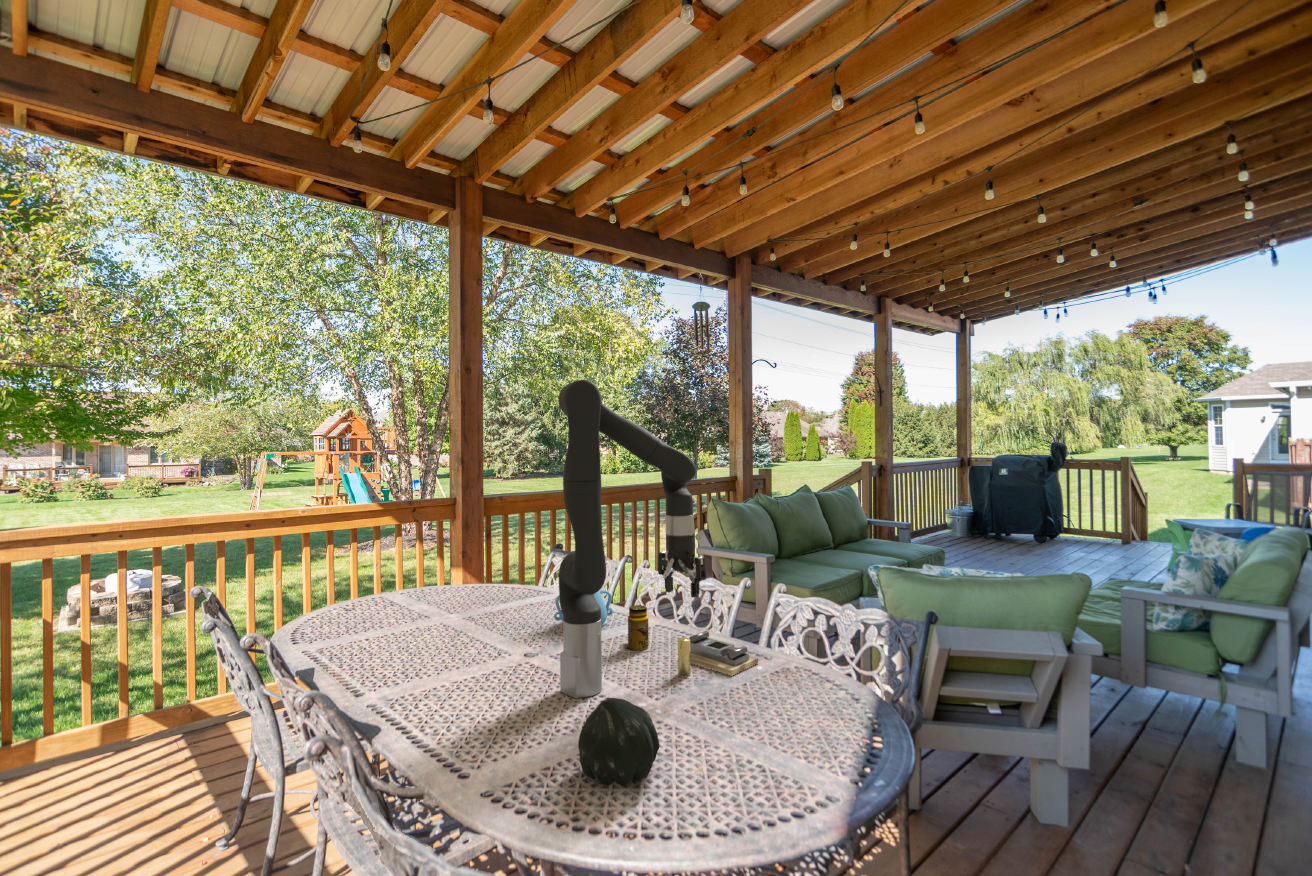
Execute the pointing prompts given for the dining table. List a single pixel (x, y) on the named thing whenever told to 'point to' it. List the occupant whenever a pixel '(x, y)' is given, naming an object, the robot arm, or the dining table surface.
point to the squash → (618, 743)
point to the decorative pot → (599, 600)
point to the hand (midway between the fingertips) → (682, 594)
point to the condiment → (637, 630)
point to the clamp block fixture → (719, 655)
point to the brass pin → (684, 657)
